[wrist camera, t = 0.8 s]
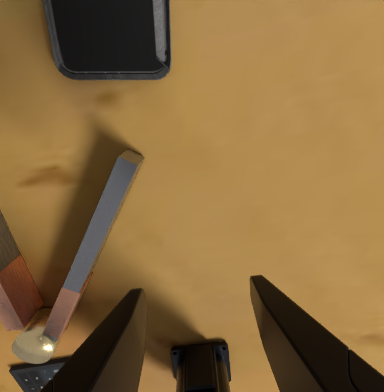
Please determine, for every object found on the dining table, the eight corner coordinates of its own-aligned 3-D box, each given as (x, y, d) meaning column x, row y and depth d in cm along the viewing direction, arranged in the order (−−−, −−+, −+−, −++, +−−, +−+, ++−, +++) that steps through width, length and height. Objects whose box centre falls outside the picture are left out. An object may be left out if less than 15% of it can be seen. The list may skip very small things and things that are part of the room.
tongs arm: (62, 337, 25) (46, 368, 22) (29, 326, 25) (8, 356, 22) (147, 158, 18) (139, 168, 16) (103, 136, 18) (87, 142, 15)
